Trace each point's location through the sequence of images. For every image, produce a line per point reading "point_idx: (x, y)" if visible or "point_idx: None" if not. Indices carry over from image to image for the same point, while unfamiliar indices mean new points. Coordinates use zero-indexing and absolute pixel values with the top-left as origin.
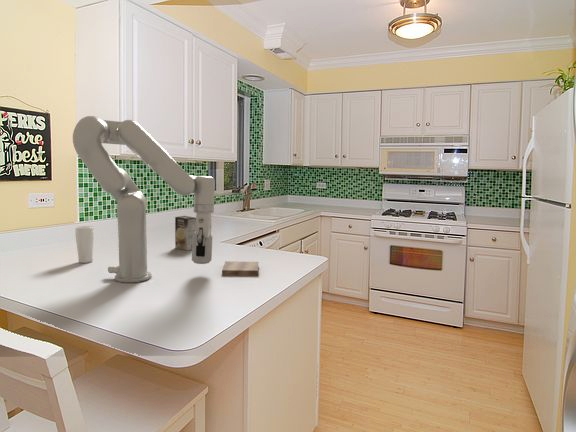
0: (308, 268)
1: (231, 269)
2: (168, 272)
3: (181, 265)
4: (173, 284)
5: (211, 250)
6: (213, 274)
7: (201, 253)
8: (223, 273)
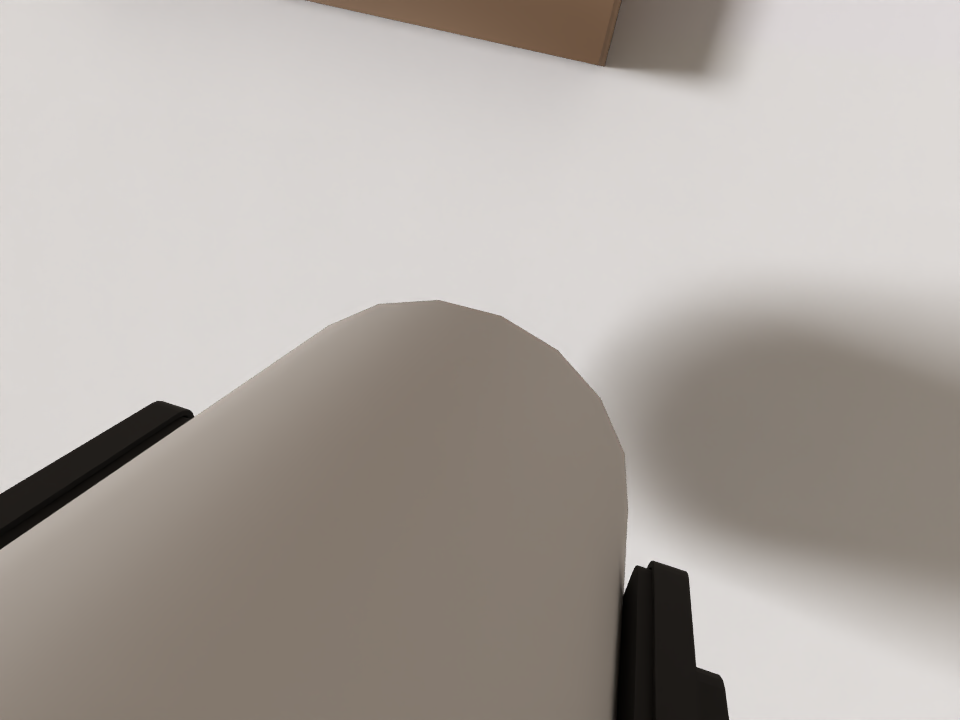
0: None
1: None
2: None
3: None
4: (846, 707)
5: (441, 417)
6: (526, 203)
7: (714, 698)
8: (608, 38)
